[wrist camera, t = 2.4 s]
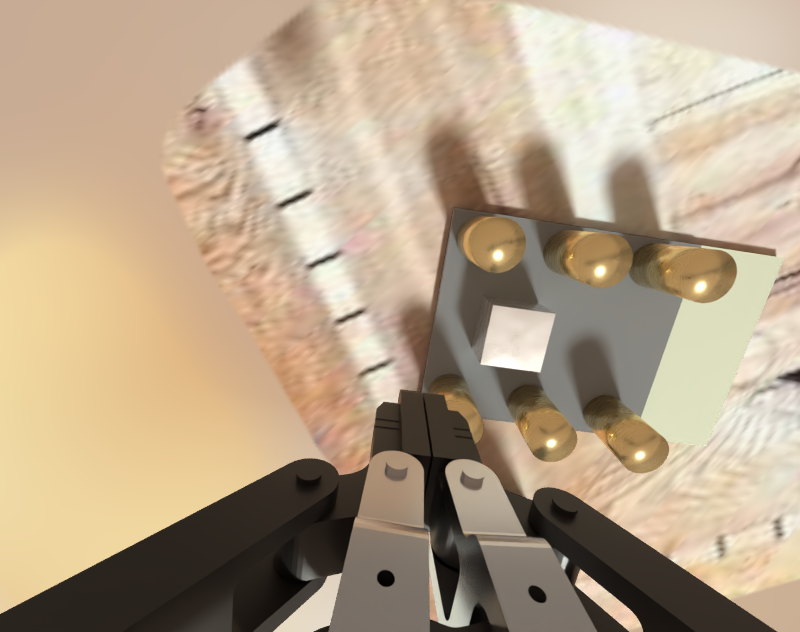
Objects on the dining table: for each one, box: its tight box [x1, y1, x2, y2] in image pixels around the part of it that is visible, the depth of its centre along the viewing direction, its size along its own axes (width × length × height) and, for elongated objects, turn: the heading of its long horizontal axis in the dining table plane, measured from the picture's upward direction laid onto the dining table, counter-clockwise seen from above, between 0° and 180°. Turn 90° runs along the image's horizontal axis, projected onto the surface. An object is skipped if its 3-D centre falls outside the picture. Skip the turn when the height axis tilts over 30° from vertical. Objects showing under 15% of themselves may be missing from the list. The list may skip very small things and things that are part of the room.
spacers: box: [429, 217, 737, 473], centre depth 24 cm, size 15×14×5 cm
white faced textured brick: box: [472, 295, 556, 372], centre depth 25 cm, size 4×4×3 cm
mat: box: [421, 208, 784, 447], centre depth 27 cm, size 23×15×1 cm, turn 82°
